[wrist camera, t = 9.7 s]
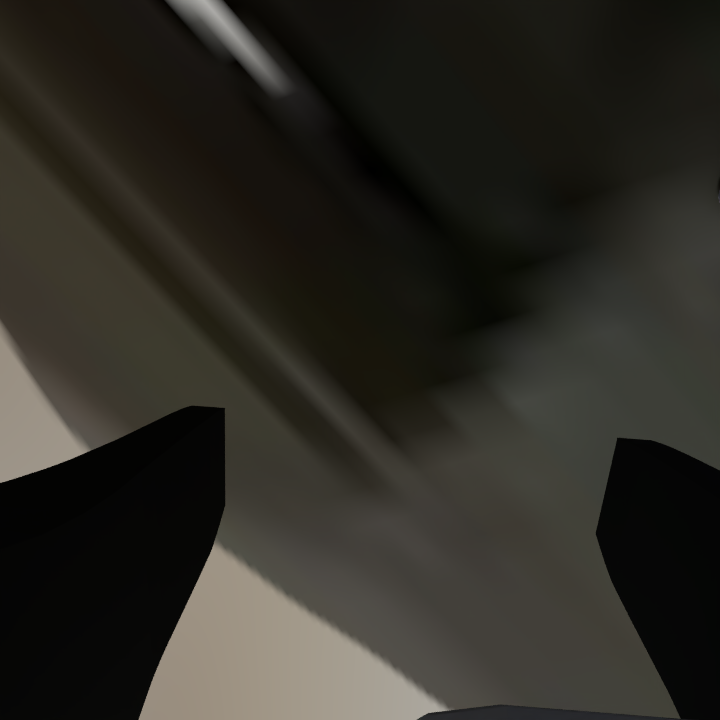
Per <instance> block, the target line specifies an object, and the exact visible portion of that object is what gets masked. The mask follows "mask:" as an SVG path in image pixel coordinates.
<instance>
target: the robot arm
mask: <svg viewBox="0 0 720 720" xmlns="http://www.w3.org/2000/svg"><path fill="white" fill-rule="evenodd" d="M718 197H719V203H720V191H719V196H718ZM224 507H225V408H216V407H203V406H189V407H185V408H183V409H180V410H178V411H176V412H173V413H171V414H169V415H167V416H165V417H163V418H161V419H159V420H157V421H154V422H152V423H150V424H148V425H146V426H144V427H142V428H140V429H138V430H136V431H134V432H132V433H130V434H128V435H125V436H123V437H121V438H119V439H117V440H115V441H112V442H110V443H108V444H105V445H103V446H101V447H98V448H96V449H94V450H91V451H89V452H87V453H84V454H82V455H80V456H78V457H75V458H73V459H71V460H68V461H65V462H63V463H60V464H58V465H54V466H52V467H49V468H46V469H43V470H40V471H37V472H34V473H31V474H28V475H25V476H22V477H19V478H16V479H13V480H9V481H6V482H2V483H0V720H138V719H139V716H140V714H141V711H142V708H143V705H144V702H145V699H146V696H147V693H148V690H149V687H150V685H151V682H152V679H153V677H154V674H155V672H156V669H157V667H158V665H159V662H160V660H161V657H162V655H163V653H164V651H165V648H166V646H167V644H168V642H169V640H170V638H171V636H172V634H173V631H174V629H175V627H176V625H177V623H178V621H179V619H180V617H181V614H182V612H183V610H184V608H185V606H186V604H187V602H188V600H189V598H190V596H191V593H192V591H193V589H194V587H195V585H196V583H197V581H198V579H199V576H200V574H201V572H202V570H203V568H204V566H205V563H206V561H207V559H208V557H209V555H210V552H211V550H212V547H213V544H214V541H215V538H216V534H217V531H218V528H219V525H220V521H221V518H222V514H223V511H224ZM596 536H597V539H598V542H599V546H600V549H601V552H602V555H603V558H604V561H605V564H606V567H607V570H608V573H609V575H610V578H611V581H612V583H613V585H614V587H615V589H616V591H617V593H618V595H619V597H620V599H621V601H622V603H623V605H624V607H625V609H626V611H627V613H628V615H629V617H630V619H631V621H632V623H633V625H634V627H635V629H636V631H637V633H638V634H639V636H640V638H641V640H642V642H643V644H644V646H645V648H646V650H647V652H648V654H649V656H650V658H651V659H652V661H653V663H654V665H655V667H656V669H657V671H658V673H659V675H660V677H661V679H662V681H663V683H664V685H665V686H666V688H667V690H668V692H669V694H670V696H671V699H672V701H673V703H674V705H675V707H676V709H677V712H678V714H679V716H680V718H681V719H676V718H663V717H651V716H638V715H625V714H613V713H600V712H588V711H575V710H563V709H550V708H537V707H525V706H512V705H493V706H484V707H476V708H468V709H459V710H451V711H442V712H434V713H428V714H426V715H424V716H423V717H421V718H419V719H417V720H720V470H718V469H716V468H713V467H711V466H709V465H707V464H705V463H703V462H701V461H699V460H697V459H695V458H693V457H691V456H689V455H687V454H685V453H683V452H680V451H678V450H676V449H674V448H671V447H669V446H666V445H664V444H661V443H658V442H655V441H652V440H640V439H626V438H617V442H616V447H615V451H614V455H613V460H612V464H611V469H610V473H609V477H608V482H607V486H606V491H605V495H604V499H603V504H602V508H601V513H600V517H599V521H598V526H597V530H596Z"/></svg>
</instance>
